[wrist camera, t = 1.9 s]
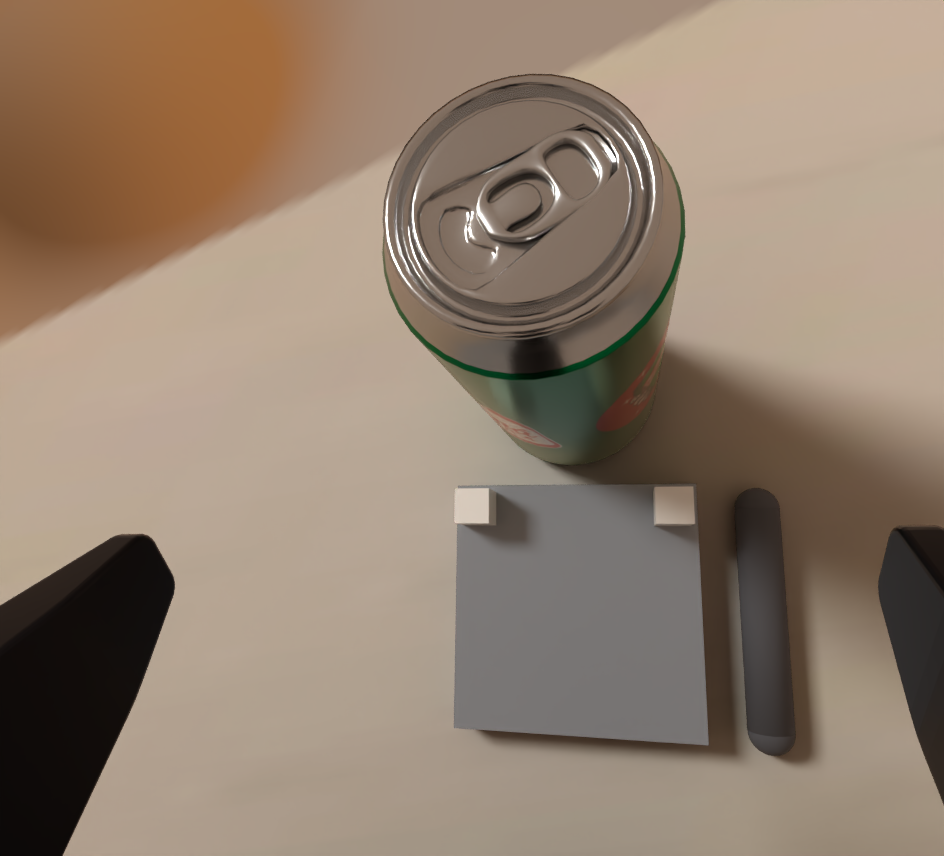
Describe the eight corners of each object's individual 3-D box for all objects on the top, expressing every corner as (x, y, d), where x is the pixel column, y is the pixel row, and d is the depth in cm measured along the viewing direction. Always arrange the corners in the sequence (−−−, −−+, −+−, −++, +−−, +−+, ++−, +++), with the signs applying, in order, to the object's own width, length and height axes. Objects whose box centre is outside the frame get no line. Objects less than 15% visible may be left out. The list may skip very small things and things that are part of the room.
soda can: (467, 366, 23) (307, 168, 11) (599, 285, 22) (574, -10, 11) (545, 497, 21) (453, 426, 10) (686, 413, 21) (765, 235, 9)
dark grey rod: (791, 750, 19) (802, 763, 18) (745, 747, 19) (752, 759, 18) (773, 489, 20) (782, 485, 19) (730, 490, 20) (736, 486, 19)
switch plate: (704, 736, 19) (714, 758, 17) (461, 720, 21) (443, 738, 18) (692, 486, 20) (700, 478, 18) (465, 489, 22) (448, 481, 20)
